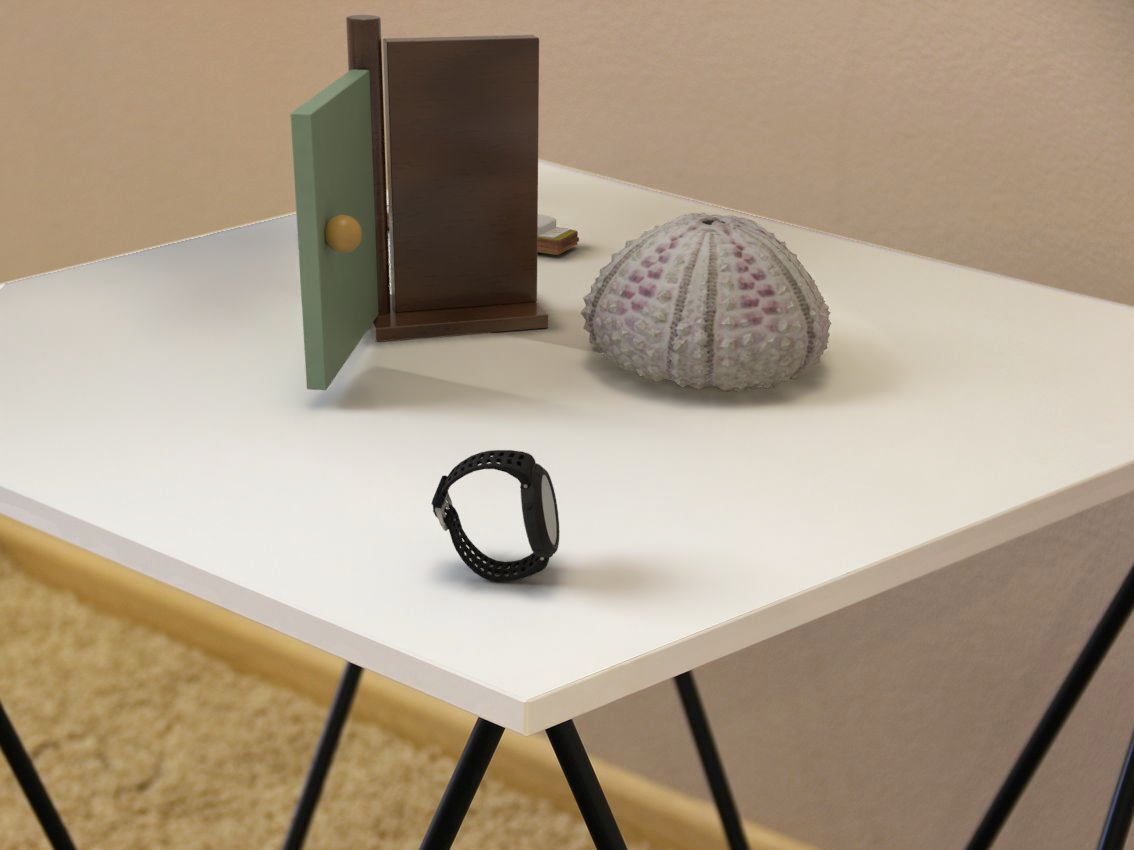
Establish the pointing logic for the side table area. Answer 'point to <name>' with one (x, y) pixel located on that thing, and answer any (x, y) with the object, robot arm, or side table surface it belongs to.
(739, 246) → the sea urchin shell
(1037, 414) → the side table surface
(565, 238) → the harmonica
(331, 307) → the door
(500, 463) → the smartwatch
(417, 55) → the door frame
